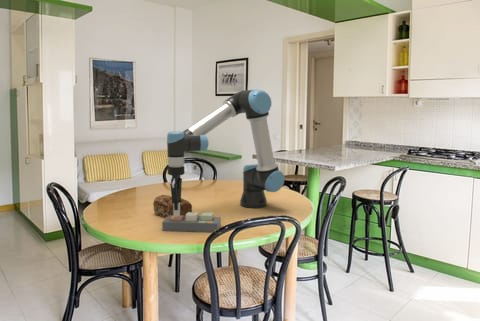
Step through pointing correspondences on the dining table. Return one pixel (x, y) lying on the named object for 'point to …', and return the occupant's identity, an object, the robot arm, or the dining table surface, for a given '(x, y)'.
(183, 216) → the key terracotta
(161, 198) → the bread
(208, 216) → the key sage
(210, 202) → the dining table surface
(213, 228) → the keypad board
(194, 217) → the key cream
